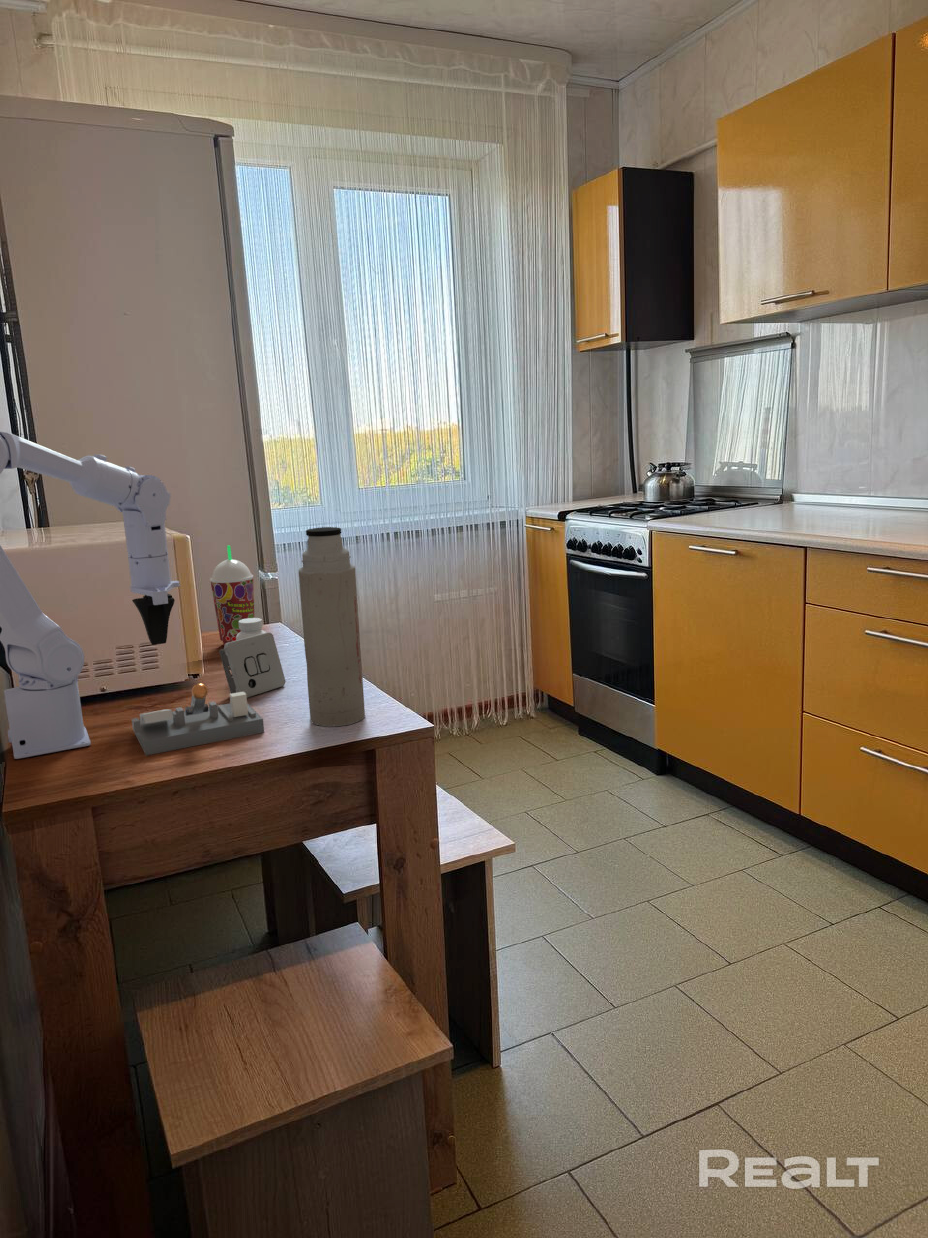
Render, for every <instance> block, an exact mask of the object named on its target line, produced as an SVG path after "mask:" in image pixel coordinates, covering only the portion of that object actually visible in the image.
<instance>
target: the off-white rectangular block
mask: <svg viewBox="0 0 928 1238" xmlns="http://www.w3.org/2000/svg"><path fill="white" fill-rule="evenodd" d="M229 703H230V705H231V714H232V715H233V716H234V717H237V716H243V715H248V707H247V703H248V698H247V697H246V694H245V693H244V692H238V693H232V694H231V693H229Z"/></svg>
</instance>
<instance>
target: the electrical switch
mask: <svg viewBox="0 0 928 1238" xmlns="http://www.w3.org/2000/svg"><path fill="white" fill-rule="evenodd" d="M223 646H224V645H223ZM218 653H219V657H220V660H221V663H222V667H223V671H224V674H225V677H226V681H227V685H228V689H229V692H230V693H229V694H232V693H238V692H244V693H245V694H246V697H247V699H249V698H250V697H253V696H256V695H259V694H263V693H266V692H269V691H271V690H275V689H278V688H282V687H283V686H285V685H286V682H287V681H286V677H285V674H284V670H283V666H282V664H281V660H280V656H279V652H278V648H277V644H276V641H275V637H274V635H273V633H271V632H269V631H268V632H266V633H263V634H259V635H256V636H252V637H248V638H244V639H240V640H236V641H232V642H228V643H226V644H225V646H224V647H223V648H221V649H219V650H218Z"/></svg>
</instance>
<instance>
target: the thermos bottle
mask: <svg viewBox="0 0 928 1238" xmlns="http://www.w3.org/2000/svg"><path fill="white" fill-rule="evenodd" d="M305 534H306V536H307V538H308V539H307V540H306V541H307V549H305V550H304V551H303V552H302V554H301V555H302V560H301V563H302V567H300V568H299V569H298V580H299V581H298V583H299V595H300V606H301V608H300V609H301V619H302V630H303V643H304V644H303V645H304V654H305V662H306V677H307V678H306V679H307V693H308V705H309V717H310V719H309V720H310V722H311V723H312V724H314V725H316V726H321V727H329V726H330V728H331V727H332V728H333V727H344V726H349V725H352V724H356V723H359V722H361V721H362V720H363V719H365V716H366V713H365V712H366V711H365V710H366V709H365V698H364V697H365V695H364V694H365V693H364V682H363V681H364V680H363V667H362V663H363V662H362V654H361V653H362V651H361V639H360V638H361V637H360V636H361V635H360V620H359V619H360V618H359V607H358V590H357V577H356V575H357V574H356V567H355V565H354V564H351V561H350V560H351V559H350V558H351V555H350V551H349V549H347V548H345V547H344V546H343V538H342V535H341V534H342V528H341V527H335V526H330V527H329V526H324V527H323V526H322V527H321V526H319V527H311V528H308V529H306V530H305Z"/></svg>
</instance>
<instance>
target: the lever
mask: <svg viewBox="0 0 928 1238" xmlns="http://www.w3.org/2000/svg"><path fill="white" fill-rule="evenodd" d="M191 688H192V689H191V701H190V706H185V707H184V711H185V713H186V716H188V715H195V714H200V713H204V712H208V707H209V704H208V703H206V698H207V696H208V694H209V688H208V686H207V685H206V684H204V683H202V682H199V683H195V684H194V685H193V686H192V687H191Z"/></svg>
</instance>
